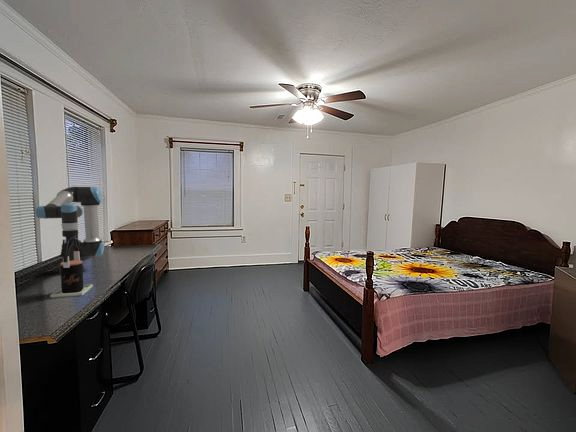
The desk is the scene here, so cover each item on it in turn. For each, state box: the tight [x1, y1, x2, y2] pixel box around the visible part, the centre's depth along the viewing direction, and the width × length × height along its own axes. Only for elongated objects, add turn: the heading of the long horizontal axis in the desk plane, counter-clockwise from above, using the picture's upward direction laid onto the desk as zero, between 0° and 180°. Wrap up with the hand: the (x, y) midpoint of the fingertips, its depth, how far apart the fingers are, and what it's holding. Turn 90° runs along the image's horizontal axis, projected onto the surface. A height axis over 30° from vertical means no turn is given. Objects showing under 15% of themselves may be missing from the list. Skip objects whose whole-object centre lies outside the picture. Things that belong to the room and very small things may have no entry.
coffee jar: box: [59, 259, 84, 293], centre depth 169 cm, size 11×11×18 cm
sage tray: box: [50, 284, 94, 299], centre depth 170 cm, size 16×16×2 cm
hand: (71, 264), depth 169 cm, fingers open, 13 cm apart
